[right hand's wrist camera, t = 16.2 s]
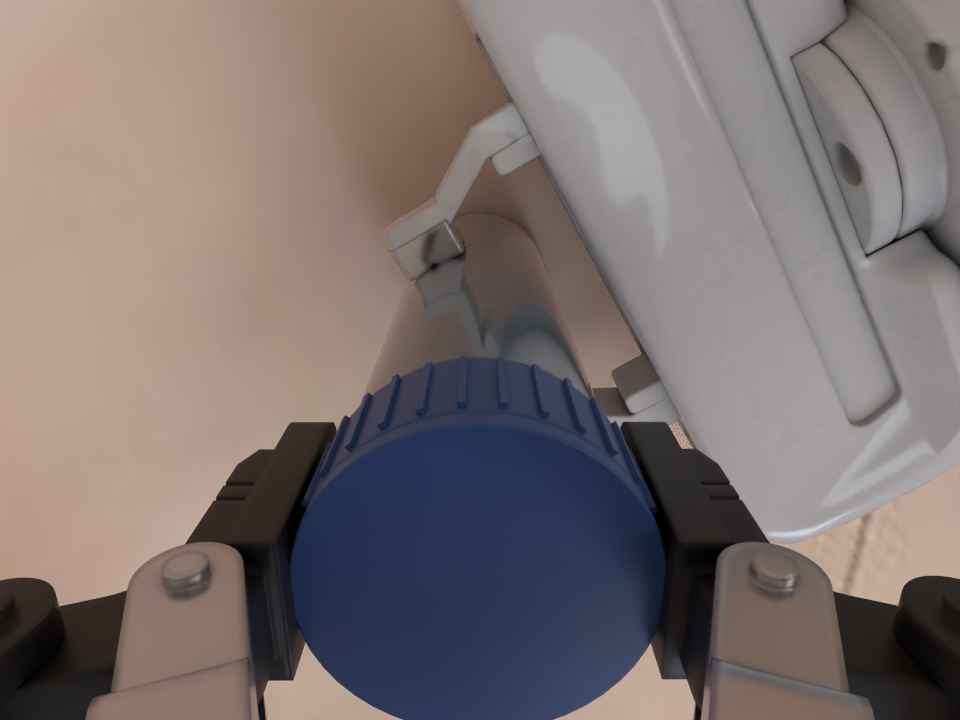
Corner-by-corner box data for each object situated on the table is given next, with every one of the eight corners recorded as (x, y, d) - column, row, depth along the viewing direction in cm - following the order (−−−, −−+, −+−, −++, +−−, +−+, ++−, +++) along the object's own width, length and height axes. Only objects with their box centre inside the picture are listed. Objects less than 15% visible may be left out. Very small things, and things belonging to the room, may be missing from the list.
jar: (559, 317, 26) (676, 649, 10) (439, 353, 26) (381, 719, 11) (523, 195, 24) (600, 369, 9) (397, 235, 24) (255, 469, 9)
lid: (668, 373, 10) (718, 444, 8) (602, 638, 12) (629, 753, 10) (327, 331, 10) (286, 394, 8) (314, 609, 12) (278, 720, 10)
